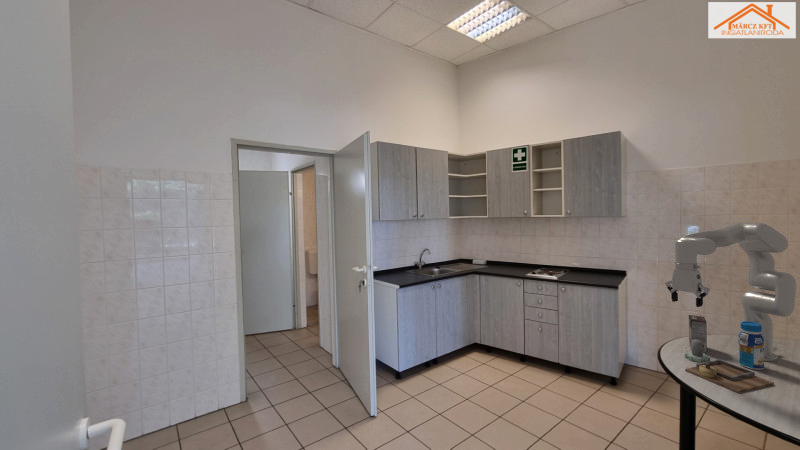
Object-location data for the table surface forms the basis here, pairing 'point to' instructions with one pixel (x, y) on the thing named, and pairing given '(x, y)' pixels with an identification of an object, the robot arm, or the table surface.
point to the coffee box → (698, 330)
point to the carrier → (729, 376)
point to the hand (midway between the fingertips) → (686, 303)
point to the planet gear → (697, 352)
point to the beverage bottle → (751, 346)
